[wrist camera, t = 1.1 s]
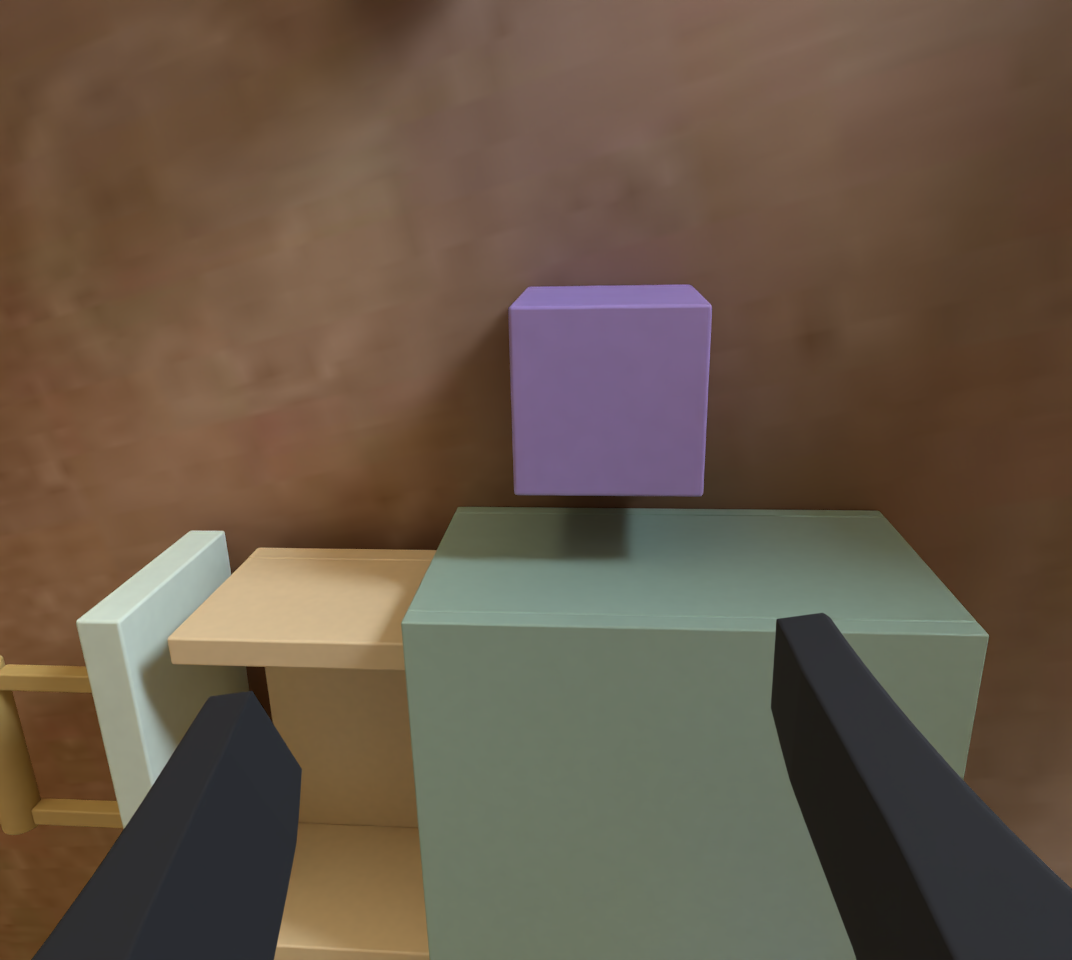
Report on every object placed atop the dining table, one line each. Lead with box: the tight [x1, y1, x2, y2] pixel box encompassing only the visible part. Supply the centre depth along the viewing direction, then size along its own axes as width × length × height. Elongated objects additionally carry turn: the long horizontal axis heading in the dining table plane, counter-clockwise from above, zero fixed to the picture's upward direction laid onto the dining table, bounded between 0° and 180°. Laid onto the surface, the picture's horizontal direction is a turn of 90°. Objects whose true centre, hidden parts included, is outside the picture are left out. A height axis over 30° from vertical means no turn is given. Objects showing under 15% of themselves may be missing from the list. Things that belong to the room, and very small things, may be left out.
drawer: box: [0, 531, 437, 960], centre depth 25 cm, size 18×12×6 cm, turn 91°
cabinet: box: [401, 507, 989, 960], centre depth 24 cm, size 13×13×8 cm
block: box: [508, 285, 712, 497], centre depth 22 cm, size 5×5×5 cm
